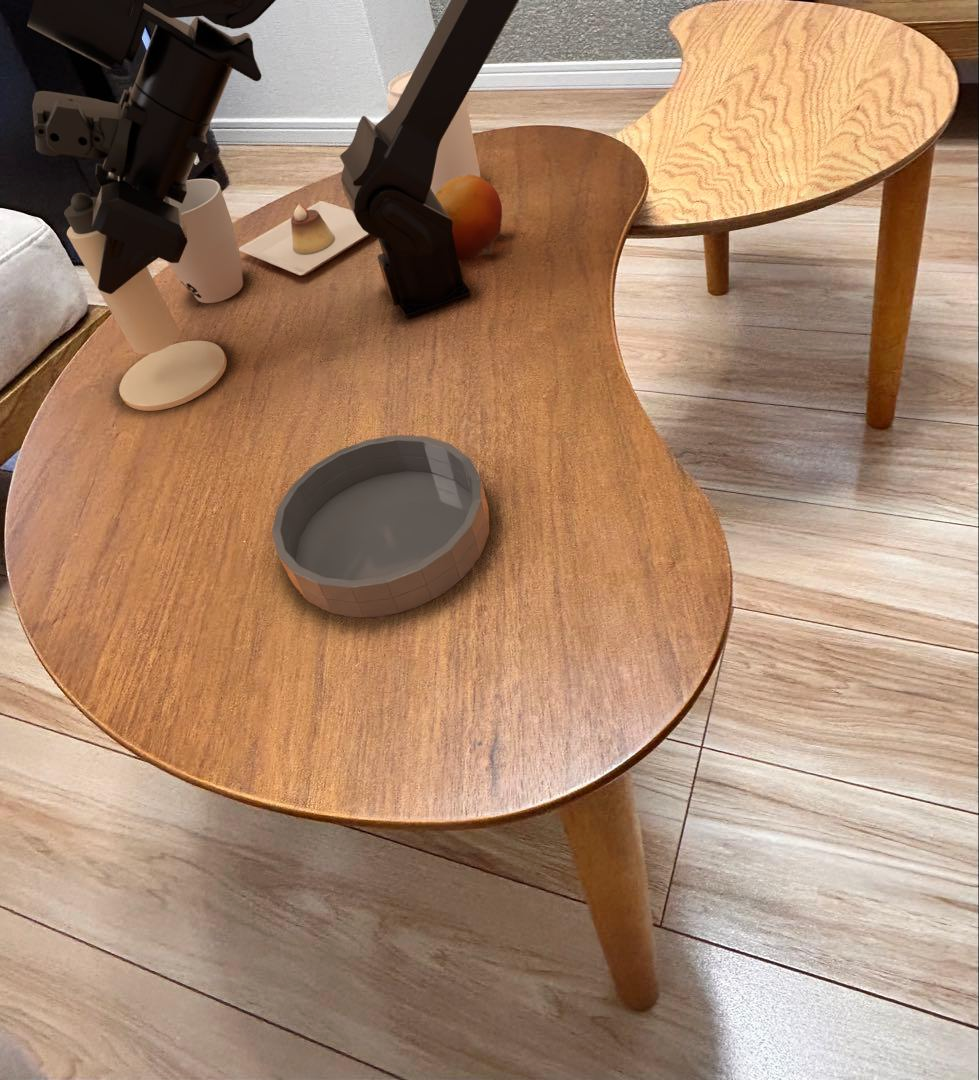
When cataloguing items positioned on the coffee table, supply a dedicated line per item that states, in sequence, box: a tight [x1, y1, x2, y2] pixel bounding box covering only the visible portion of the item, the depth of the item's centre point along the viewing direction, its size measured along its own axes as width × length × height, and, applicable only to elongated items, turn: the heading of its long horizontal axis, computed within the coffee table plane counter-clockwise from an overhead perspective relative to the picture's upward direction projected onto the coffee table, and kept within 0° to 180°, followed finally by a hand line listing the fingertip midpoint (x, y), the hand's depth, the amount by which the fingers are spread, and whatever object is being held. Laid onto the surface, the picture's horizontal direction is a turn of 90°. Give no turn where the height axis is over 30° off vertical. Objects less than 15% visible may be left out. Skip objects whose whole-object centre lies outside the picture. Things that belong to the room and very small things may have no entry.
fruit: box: [435, 175, 507, 262], centre depth 85 cm, size 8×8×8 cm
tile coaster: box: [118, 340, 228, 412], centre depth 80 cm, size 10×10×1 cm
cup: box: [166, 178, 244, 304], centre depth 87 cm, size 8×8×10 cm
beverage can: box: [386, 69, 482, 194], centre depth 93 cm, size 8×8×12 cm
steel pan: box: [271, 434, 490, 619], centre depth 59 cm, size 14×14×4 cm
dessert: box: [238, 200, 371, 276], centre depth 92 cm, size 12×12×5 cm
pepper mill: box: [63, 192, 181, 355], centre depth 72 cm, size 4×4×14 cm
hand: (104, 278), depth 72 cm, fingers closed on pepper mill, 4 cm apart
